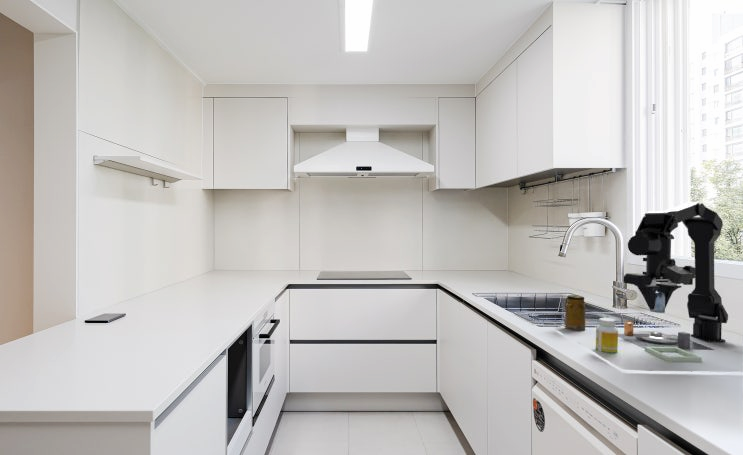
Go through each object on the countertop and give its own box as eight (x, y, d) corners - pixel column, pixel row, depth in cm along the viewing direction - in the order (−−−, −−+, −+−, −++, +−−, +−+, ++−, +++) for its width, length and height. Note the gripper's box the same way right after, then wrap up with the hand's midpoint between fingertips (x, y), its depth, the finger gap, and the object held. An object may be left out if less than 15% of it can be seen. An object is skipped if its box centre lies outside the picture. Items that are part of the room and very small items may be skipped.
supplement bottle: (591, 351, 118) (591, 318, 118) (605, 349, 119) (605, 316, 119) (607, 357, 113) (608, 322, 112) (622, 355, 114) (622, 320, 114)
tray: (676, 353, 116) (676, 347, 116) (701, 364, 107) (701, 357, 107) (644, 353, 116) (644, 346, 116) (666, 363, 107) (667, 357, 107)
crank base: (674, 337, 133) (674, 321, 133) (715, 352, 117) (715, 335, 117) (612, 336, 134) (613, 320, 134) (644, 351, 118) (644, 334, 118)
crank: (661, 333, 133) (662, 319, 133) (687, 343, 122) (687, 327, 122) (614, 333, 133) (614, 318, 133) (635, 343, 122) (636, 327, 122)
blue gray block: (656, 310, 120) (657, 291, 120) (668, 312, 116) (668, 293, 116) (646, 310, 119) (646, 291, 119) (657, 313, 116) (658, 293, 116)
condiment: (570, 327, 145) (570, 293, 144) (595, 332, 138) (595, 297, 138) (560, 331, 140) (560, 296, 140) (585, 336, 133) (586, 299, 133)
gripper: (657, 257, 108) (656, 316, 108) (713, 257, 112) (711, 314, 112) (622, 254, 119) (621, 307, 119) (674, 254, 123) (673, 306, 123)
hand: (657, 309), depth 118 cm, fingers closed on blue gray block, 4 cm apart
